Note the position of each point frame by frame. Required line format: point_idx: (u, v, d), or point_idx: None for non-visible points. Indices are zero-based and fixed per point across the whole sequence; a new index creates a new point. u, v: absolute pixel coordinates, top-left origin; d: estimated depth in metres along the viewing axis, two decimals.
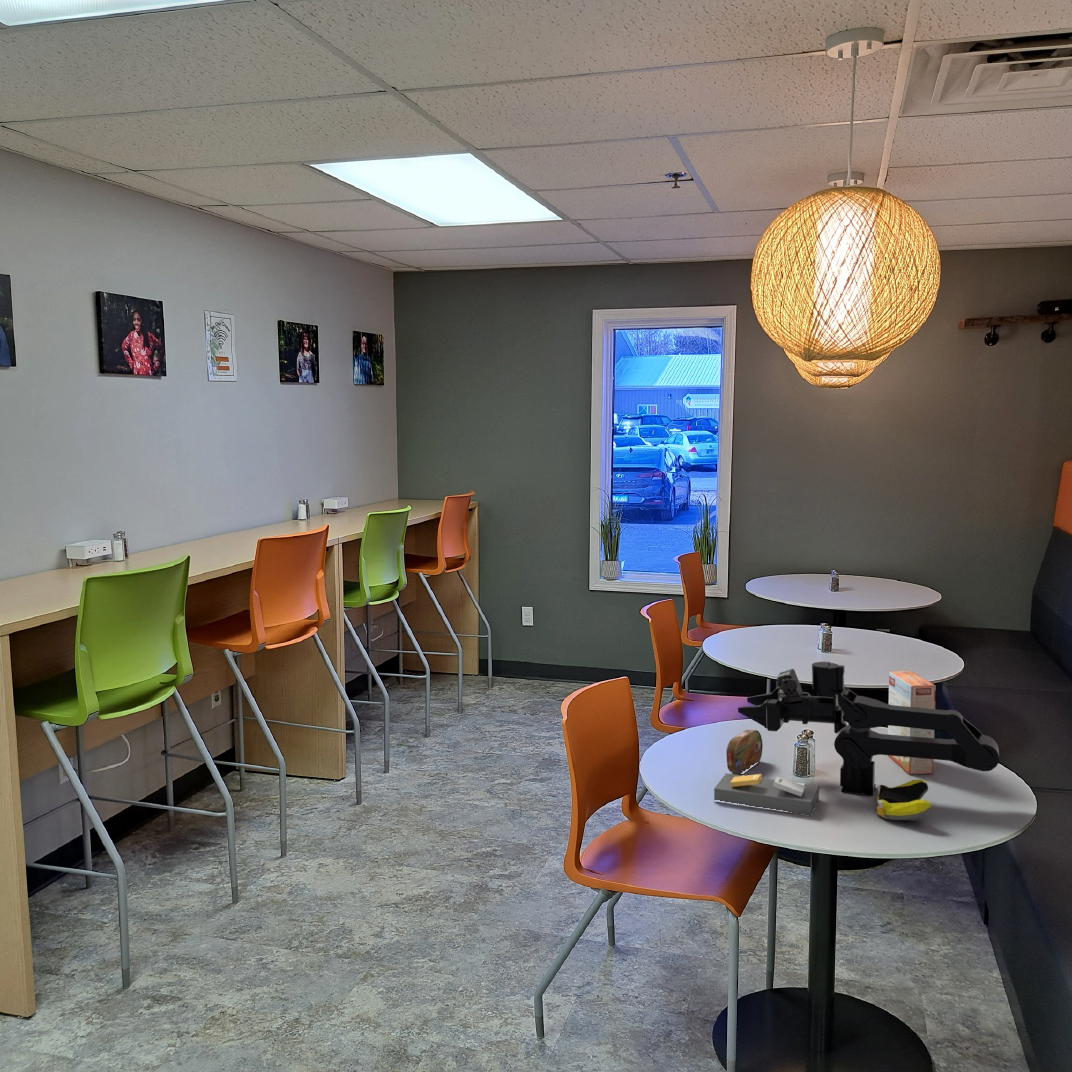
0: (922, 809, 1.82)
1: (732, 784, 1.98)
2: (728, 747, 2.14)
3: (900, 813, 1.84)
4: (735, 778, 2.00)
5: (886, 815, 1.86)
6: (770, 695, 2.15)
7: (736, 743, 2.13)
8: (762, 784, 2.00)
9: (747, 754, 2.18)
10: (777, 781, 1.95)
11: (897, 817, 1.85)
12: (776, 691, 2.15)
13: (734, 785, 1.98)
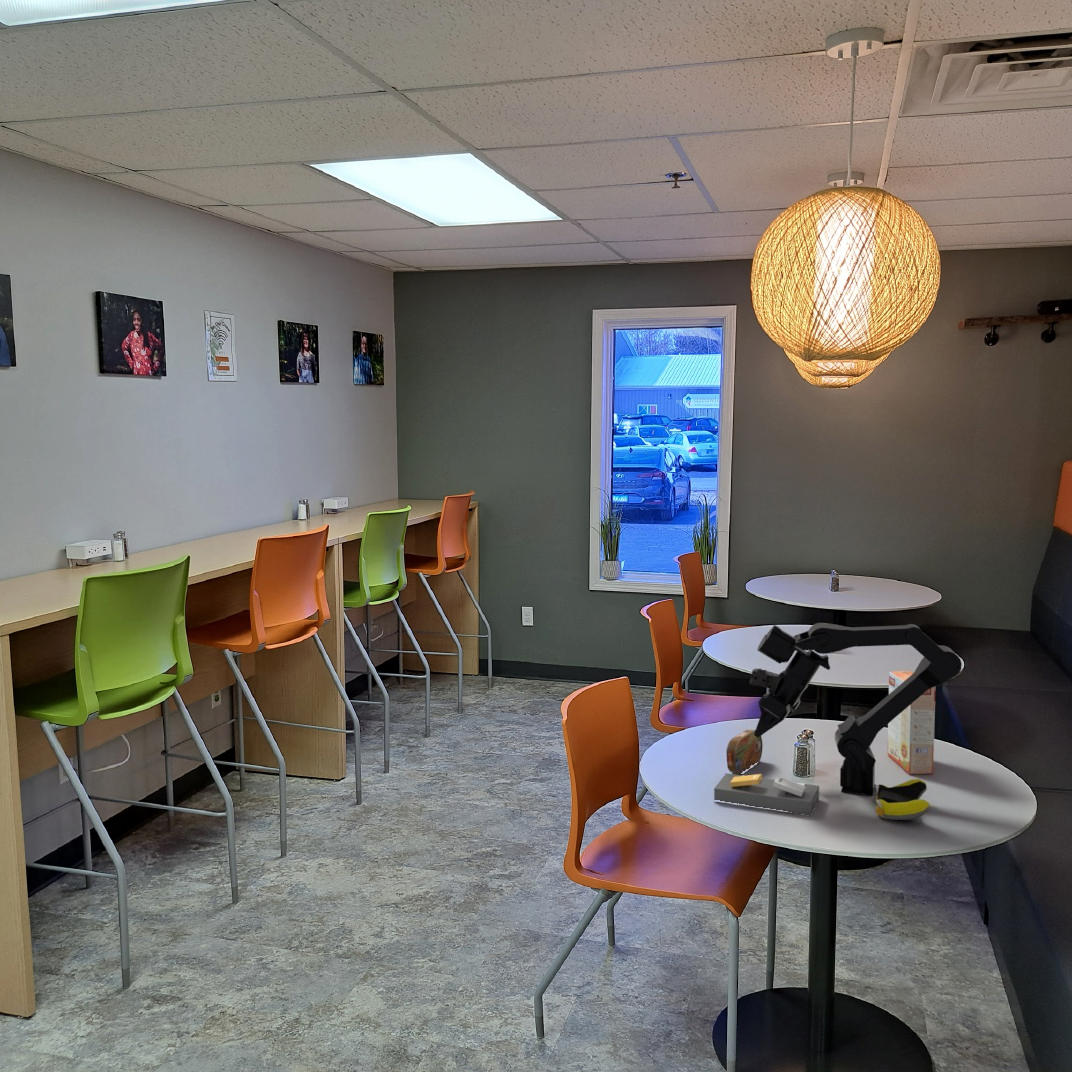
0: (920, 808, 1.82)
1: (732, 784, 1.98)
2: (728, 747, 2.14)
3: (898, 812, 1.85)
4: (735, 778, 2.00)
5: (885, 815, 1.86)
6: None
7: (736, 743, 2.14)
8: (762, 784, 2.00)
9: (747, 754, 2.18)
10: (777, 781, 1.95)
11: (896, 817, 1.85)
12: None
13: (734, 785, 1.98)
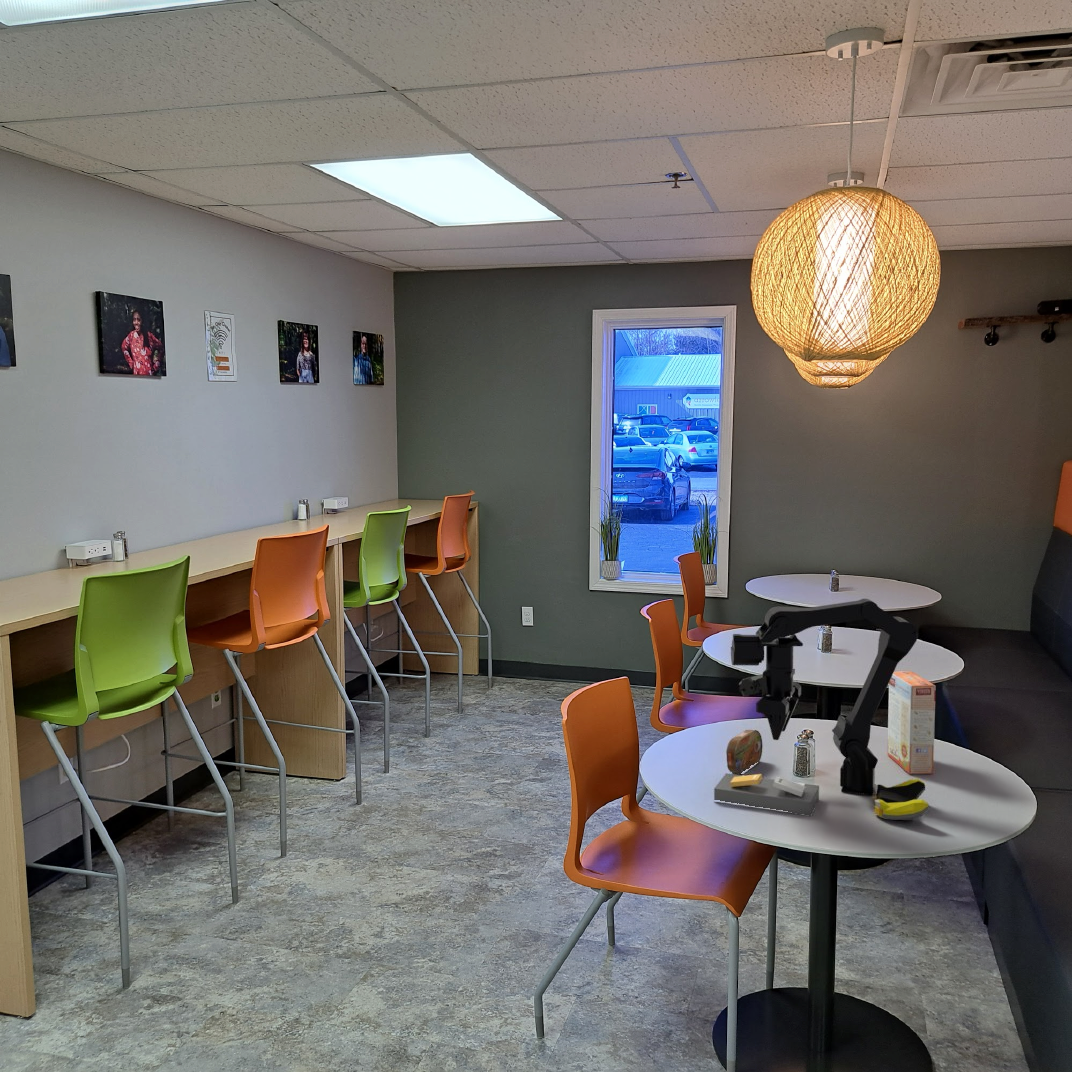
0: (919, 808, 1.83)
1: (732, 784, 1.98)
2: (728, 747, 2.14)
3: (897, 812, 1.85)
4: (735, 778, 2.00)
5: (883, 815, 1.87)
6: None
7: (736, 743, 2.14)
8: (762, 784, 2.00)
9: (747, 754, 2.18)
10: (777, 781, 1.95)
11: (894, 817, 1.85)
12: None
13: (734, 785, 1.98)
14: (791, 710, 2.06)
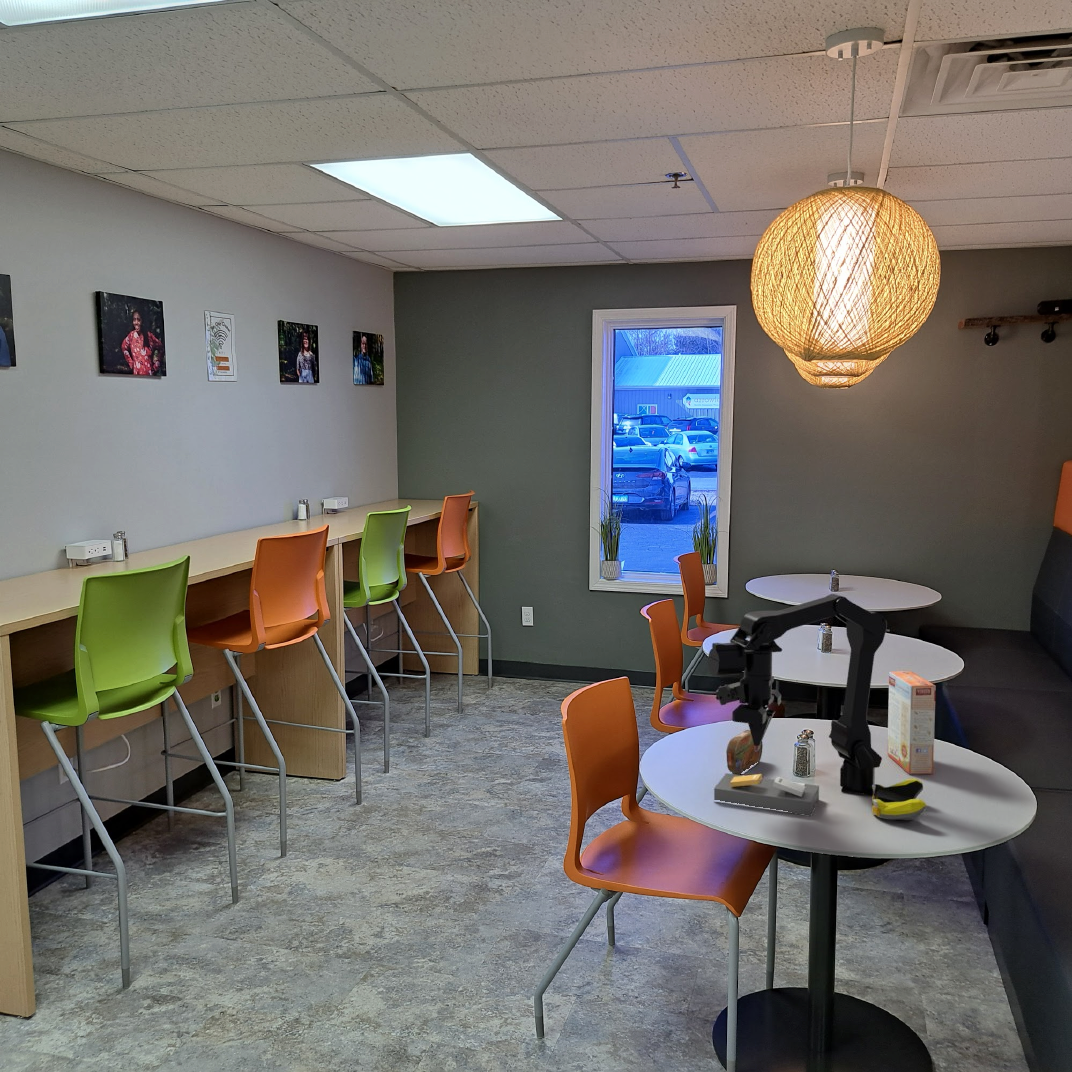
0: (916, 808, 1.83)
1: (732, 784, 1.98)
2: (728, 747, 2.14)
3: (895, 812, 1.85)
4: (735, 778, 2.00)
5: (881, 814, 1.87)
6: None
7: (736, 743, 2.13)
8: (762, 784, 2.00)
9: (747, 754, 2.18)
10: (777, 781, 1.95)
11: (892, 816, 1.85)
12: None
13: (734, 785, 1.98)
14: None
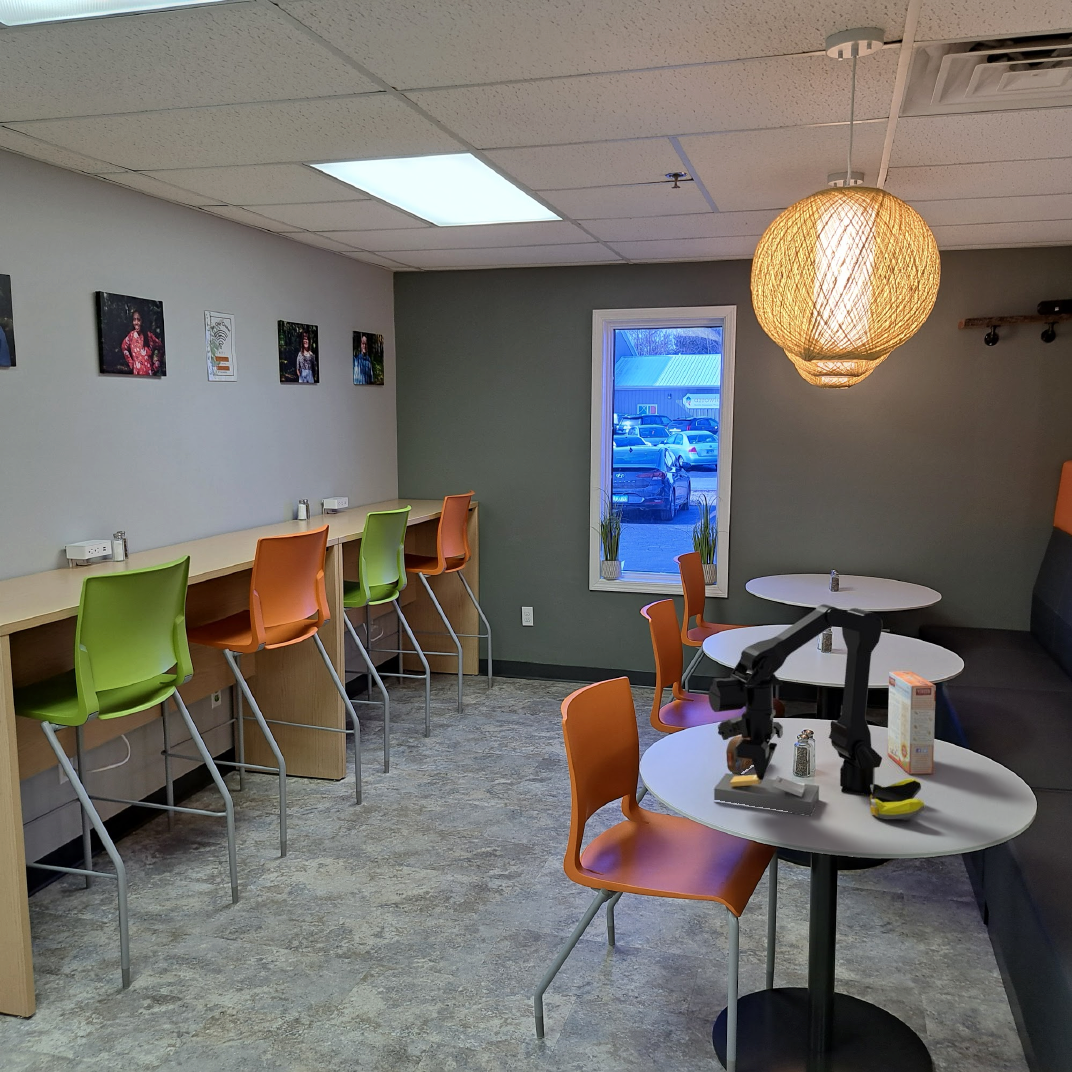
0: (915, 808, 1.83)
1: (732, 784, 1.98)
2: (728, 747, 2.14)
3: (893, 812, 1.85)
4: (735, 778, 2.00)
5: (879, 814, 1.87)
6: None
7: (736, 743, 2.14)
8: (762, 784, 2.00)
9: None
10: (777, 781, 1.95)
11: (890, 816, 1.85)
12: None
13: (734, 785, 1.98)
14: None
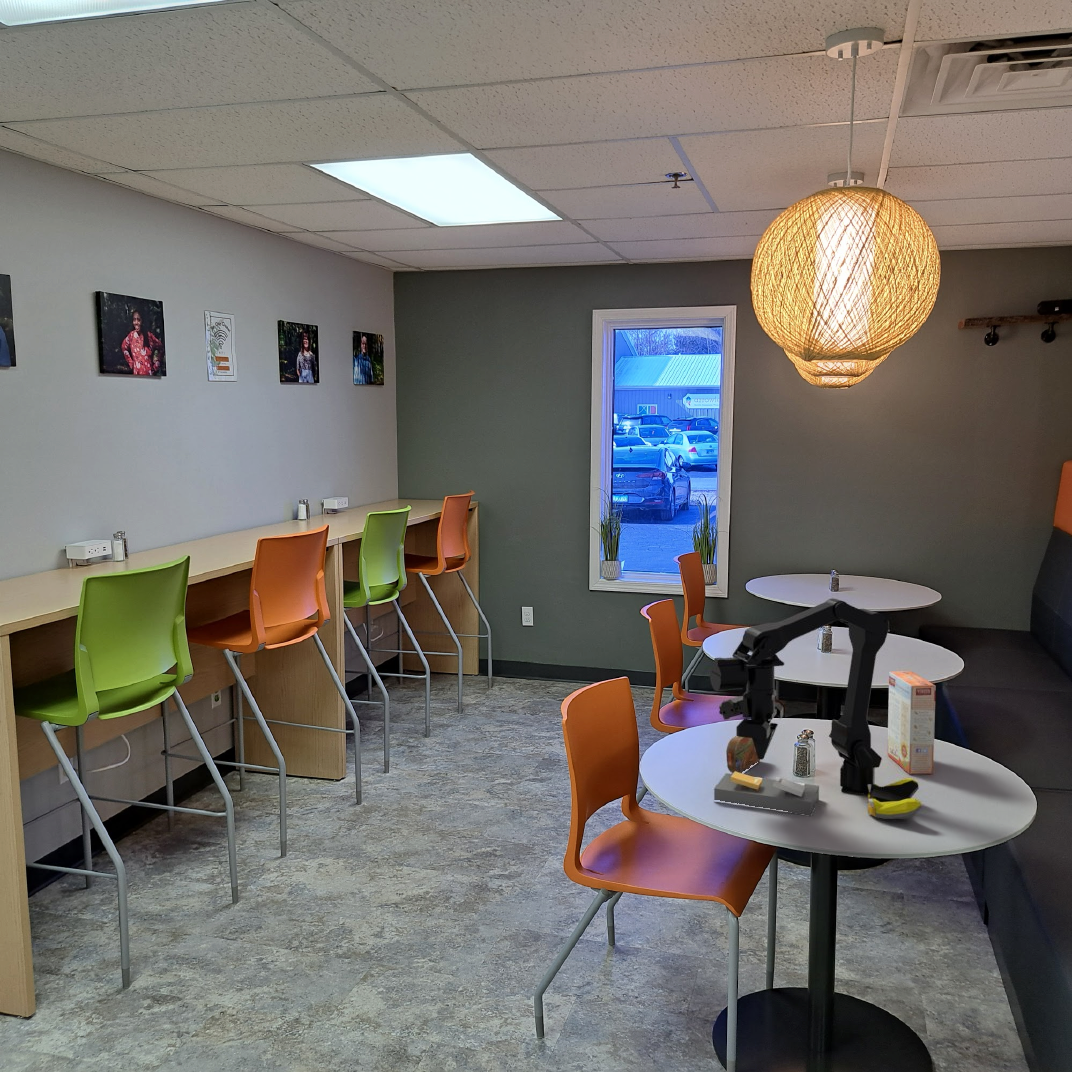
0: (912, 808, 1.83)
1: (732, 779, 1.98)
2: (728, 747, 2.14)
3: (890, 811, 1.85)
4: (736, 773, 2.00)
5: (877, 814, 1.87)
6: None
7: (736, 743, 2.14)
8: (762, 784, 2.00)
9: (747, 754, 2.18)
10: (777, 781, 1.95)
11: (887, 816, 1.86)
12: None
13: (733, 781, 1.98)
14: (770, 737, 1.97)
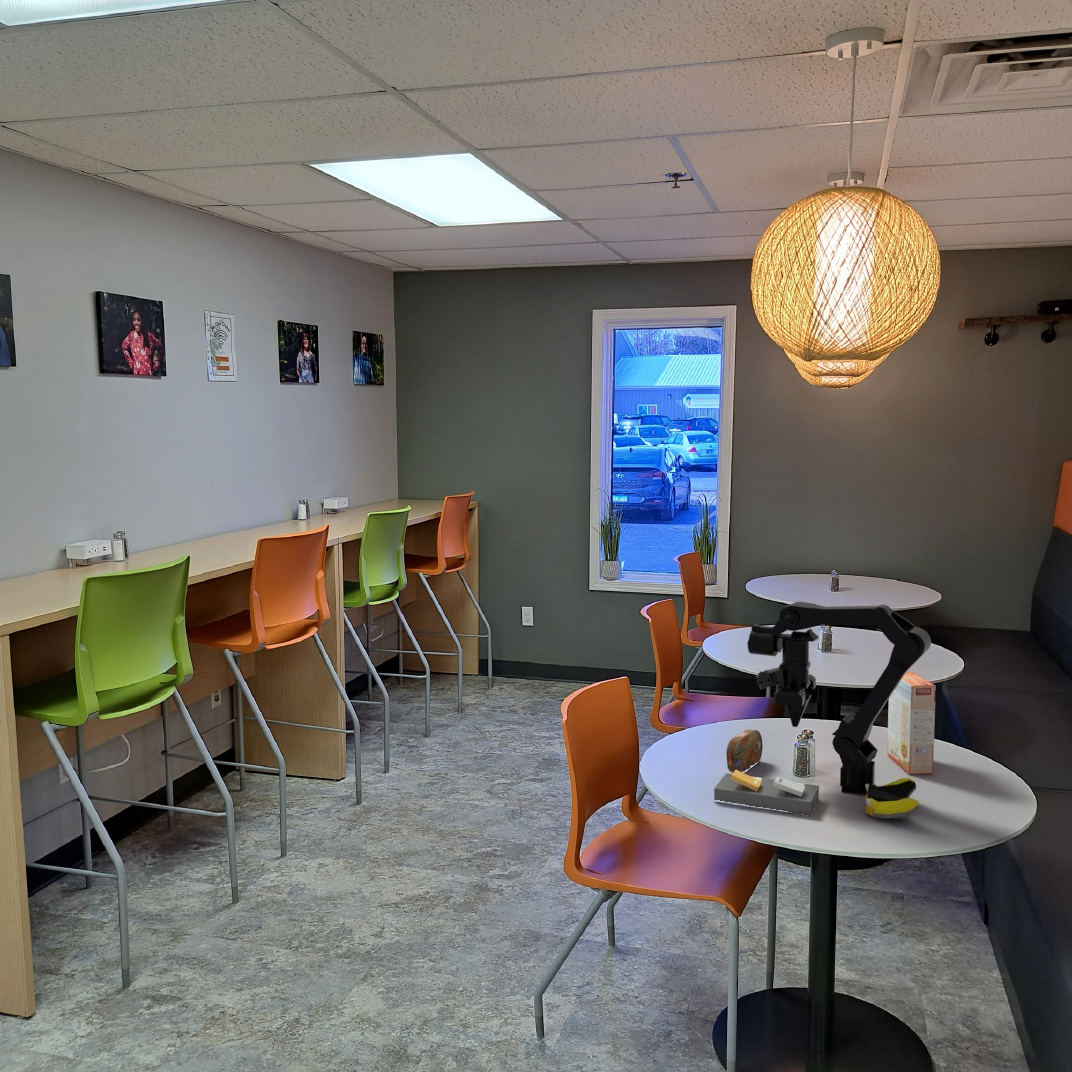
0: (909, 807, 1.83)
1: (732, 778, 1.98)
2: (728, 747, 2.14)
3: (888, 811, 1.85)
4: (736, 772, 2.00)
5: (874, 813, 1.87)
6: None
7: (736, 743, 2.13)
8: (762, 784, 2.00)
9: (747, 754, 2.18)
10: (777, 781, 1.95)
11: (885, 815, 1.86)
12: None
13: (734, 779, 1.98)
14: None
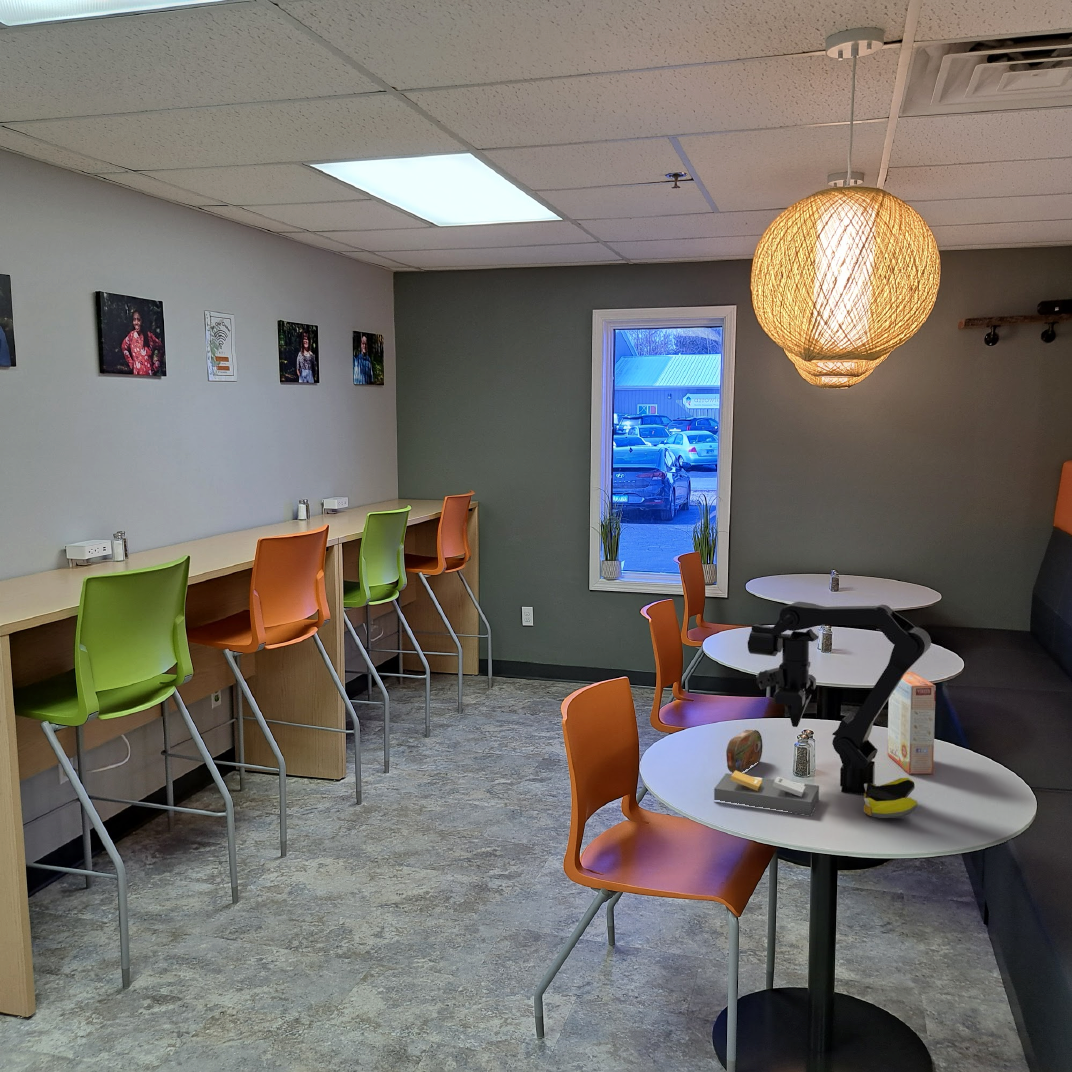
0: (907, 807, 1.83)
1: (732, 778, 1.98)
2: (728, 747, 2.14)
3: (886, 811, 1.86)
4: (736, 773, 2.00)
5: (872, 813, 1.87)
6: None
7: (736, 743, 2.14)
8: (762, 784, 2.00)
9: (747, 754, 2.18)
10: (777, 781, 1.95)
11: (883, 815, 1.86)
12: None
13: (733, 780, 1.98)
14: None
